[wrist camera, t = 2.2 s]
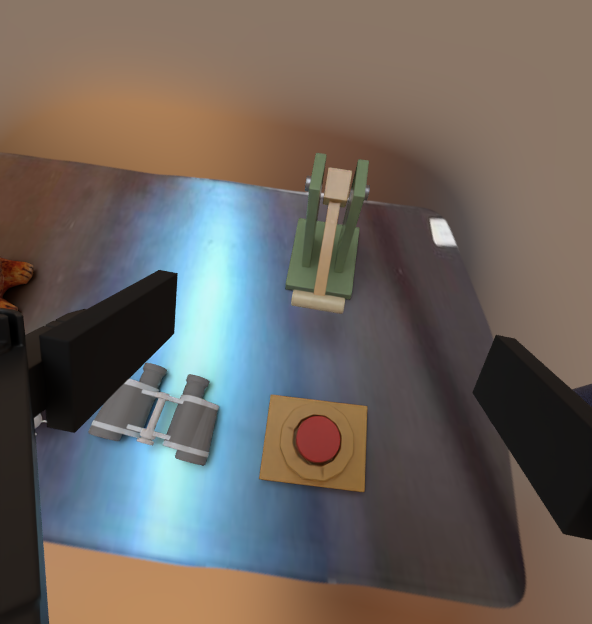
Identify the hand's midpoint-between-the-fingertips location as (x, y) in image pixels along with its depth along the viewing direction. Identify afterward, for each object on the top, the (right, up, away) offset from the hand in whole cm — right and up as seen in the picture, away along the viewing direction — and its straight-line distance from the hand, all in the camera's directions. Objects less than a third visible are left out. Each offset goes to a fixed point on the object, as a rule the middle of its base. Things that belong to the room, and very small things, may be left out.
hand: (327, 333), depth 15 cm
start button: (+1, -11, +20) cm, 23 cm away
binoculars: (-15, -10, +24) cm, 30 cm away
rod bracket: (+2, +8, +32) cm, 33 cm away
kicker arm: (+2, +8, +21) cm, 23 cm away
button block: (0, -13, +23) cm, 26 cm away
